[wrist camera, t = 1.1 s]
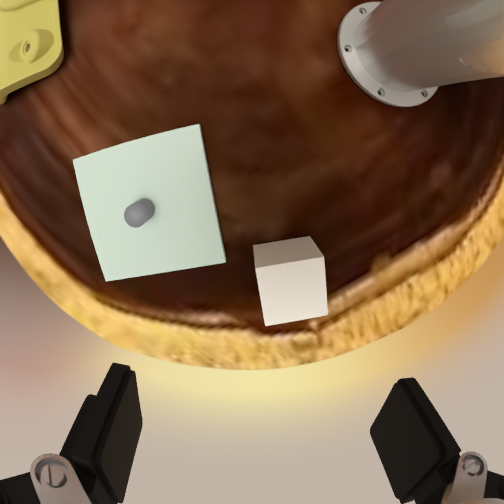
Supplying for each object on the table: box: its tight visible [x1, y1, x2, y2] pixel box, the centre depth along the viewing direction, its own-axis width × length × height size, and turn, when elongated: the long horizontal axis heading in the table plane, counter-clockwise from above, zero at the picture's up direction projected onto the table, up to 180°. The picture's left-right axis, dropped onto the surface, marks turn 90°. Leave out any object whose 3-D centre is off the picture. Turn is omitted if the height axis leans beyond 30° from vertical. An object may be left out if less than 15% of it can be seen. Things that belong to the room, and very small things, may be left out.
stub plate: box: [73, 124, 226, 281], centre depth 28 cm, size 14×14×4 cm
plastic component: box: [0, 0, 64, 104], centre depth 19 cm, size 20×7×10 cm
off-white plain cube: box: [253, 236, 328, 326], centre depth 30 cm, size 6×6×6 cm
